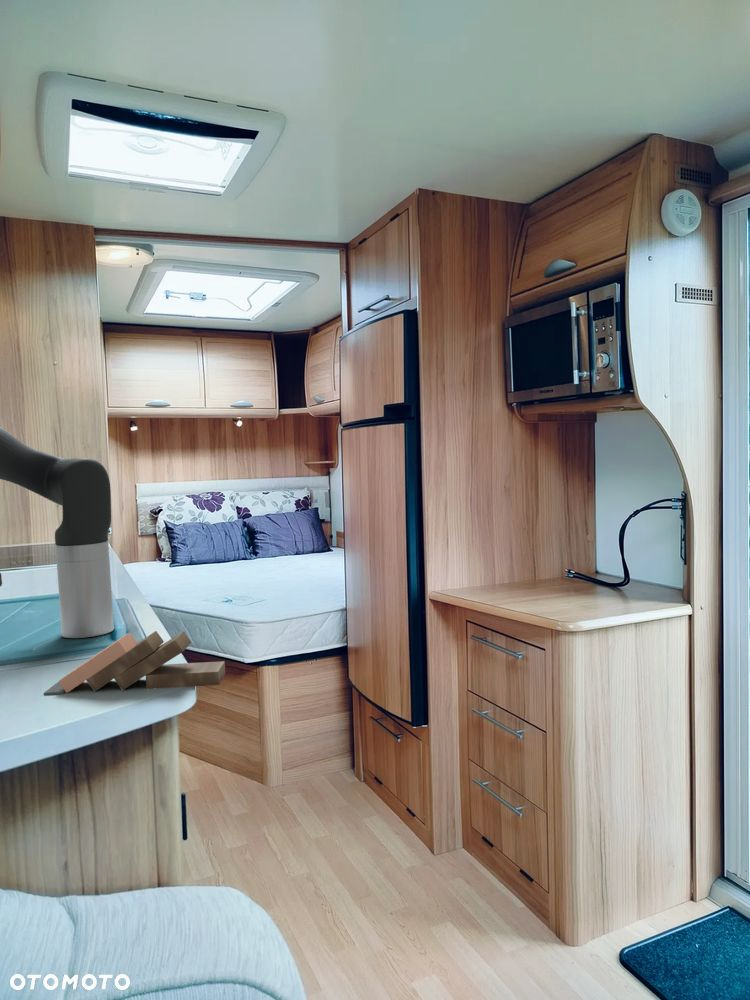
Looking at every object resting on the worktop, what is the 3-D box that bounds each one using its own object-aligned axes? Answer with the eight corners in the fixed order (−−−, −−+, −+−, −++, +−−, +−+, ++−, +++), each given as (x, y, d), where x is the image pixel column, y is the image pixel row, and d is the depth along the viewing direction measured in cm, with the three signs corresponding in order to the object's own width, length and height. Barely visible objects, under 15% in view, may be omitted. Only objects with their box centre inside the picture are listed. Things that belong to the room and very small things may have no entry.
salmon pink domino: (58, 681, 94) (118, 640, 94) (72, 670, 99) (129, 631, 99) (66, 693, 95) (126, 652, 95) (80, 681, 100) (137, 643, 100)
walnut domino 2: (114, 678, 95) (175, 639, 95) (125, 667, 100) (183, 631, 100) (122, 690, 95) (183, 651, 95) (133, 679, 100) (191, 642, 100)
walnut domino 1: (86, 679, 95) (146, 639, 95) (99, 669, 100) (156, 630, 100) (94, 691, 95) (154, 651, 95) (107, 680, 100) (164, 641, 100)
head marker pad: (43, 694, 94) (43, 692, 94) (60, 682, 100) (60, 679, 100) (62, 693, 94) (62, 691, 94) (78, 681, 100) (78, 679, 100)
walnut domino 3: (145, 675, 95) (218, 671, 95) (155, 664, 100) (224, 661, 100) (146, 689, 95) (219, 685, 95) (156, 678, 100) (225, 674, 100)
